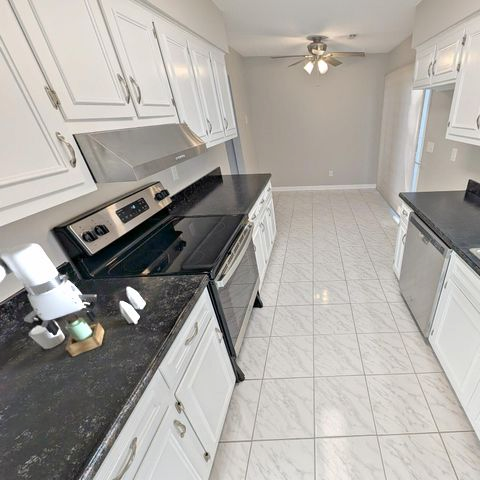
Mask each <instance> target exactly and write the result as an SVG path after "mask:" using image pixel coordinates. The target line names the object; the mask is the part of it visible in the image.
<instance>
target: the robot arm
mask: <svg viewBox="0 0 480 480" xmlns="http://www.w3.org/2000/svg"><path fill="white" fill-rule="evenodd" d="M11 273H12V274H13V275H14V277H15V278H16V279H17V280H18V281H19V282H20V284H21V285H22V286H23V287H24V289H25V290H26V292H27V298H28V301H29V302H30V305H31V307H32V309H33V310H32V311H31V312H30V313H29V314H27V315H26V316H25V317H24V319H23V321H24V322H27V323H28V324H32V325H33V326H37V325H38V326H41V327H45V328H46V329H47V330H48V331H49V333H52V334H53V335H54V336H55V335H57V333H58V331H59V328H60V326H59V325H58V326H59V327H58V326H57V325H56V324H55V322H54V321H55V319H57V318H61V317H64V316H67V315H71V314H74V313H76V312H79V311H83V312H85V314H86V316H87V318H88V319H89V320H90V322H92V323H94V322H96V319H97V317H98V313H97V312H96V310H95V309H94V307H95V306H96V304H97V301H98V300H97V298H98V295H97V294H85V293H84V294H83V293H82V292H81V291H80V290H79V288H77V287H76V286H75V284H73V283H72V282H71V281H70V280H69V275H68V274H61V272H59V271H58V270H57V268H56V267H55V266H54V264H53V263H52V261H51V260H50V258H49V256H47V254H46V253H45V251H44V249H43V248H42V247H41V245H39V244H37V243H33V242H30V243H29V242H28V243H22V244H19V245H15V246H12V247H10V248H9V247H8V248H0V283H2V281H3V280H4V278H6V277H7V276H8V275H10V274H11ZM86 301H90V303H89V302H86ZM36 316H38V317H39V318H38V317H37V318H36ZM52 320H54V321H52Z"/></svg>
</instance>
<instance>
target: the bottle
mask: <svg viewBox="0 0 480 480" xmlns="http://www.w3.org/2000/svg"><path fill="white" fill-rule="evenodd" d="M64 321H65V322H66V324H65V329H66V331H67V332H68V333H69V334H70V335H72V337H73V338H74V339H75V340H76V342H79V341H82V340H85V339H87V338H90V337H93V331H92V330H91V328H90V327H89V326H90V325H89V324H88V323H87V321H86V320H85V318H84V317H78V315H77V314H76V313H71V314H68V316H66V317H65V318H64Z"/></svg>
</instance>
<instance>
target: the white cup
mask: <svg viewBox="0 0 480 480" xmlns="http://www.w3.org/2000/svg"><path fill="white" fill-rule="evenodd" d="M52 321H54V322H55V324H56V325H57V326H58V327H59V331H58V333H57V335H55V336H54V335H53V334H52V333H49V331H48V330H47V329H46V328H45V327H41V326H38V325H35V326H34V327H33V328H32V329H30V330H29V331H28V336H29V338H31V339H32V340H33V341H35V342H36V343H37V344H38V345H39V346H40V347H42V348H43V349H44V350H48V349H52V348H55V347H56V346H59V345H60V344H61V343H63V342H64V341H65V339H66V337H65V334H64V333H63V331H62V329H61V327H60V326H59V324H58V322H57V321H56V320H55V319H52Z"/></svg>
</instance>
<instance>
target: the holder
mask: <svg viewBox="0 0 480 480" xmlns="http://www.w3.org/2000/svg"><path fill="white" fill-rule="evenodd" d="M88 326H89V327H90V328H91V330H92V331H93V337H90V338H87V339H85V340H82V341H79V342H76V340H75V339H74V338H73V337H72V335H71V334H70V336H69V338H68V341H67V344H66V346H65V349H66V351H68V353H69V354H70V355H71V356H72V357H75V356H78V355H80V354H83V353H86V352H89V351H91V350H94V349H96V348H98V347H101V346H102V343H103V340H104V339H103V338H104V334H105V330H104V328H103V327H102V325H101V323H100V322H96V323H94V324H90V325H88Z"/></svg>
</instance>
